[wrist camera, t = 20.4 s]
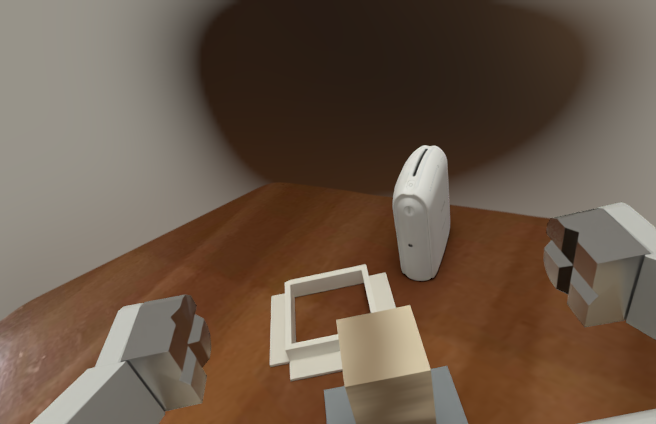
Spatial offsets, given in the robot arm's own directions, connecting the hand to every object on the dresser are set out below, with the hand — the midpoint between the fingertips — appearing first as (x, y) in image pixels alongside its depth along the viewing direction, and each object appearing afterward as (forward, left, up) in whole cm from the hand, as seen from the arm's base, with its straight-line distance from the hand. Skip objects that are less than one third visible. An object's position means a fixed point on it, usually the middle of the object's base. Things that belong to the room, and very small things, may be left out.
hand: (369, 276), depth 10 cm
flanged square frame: (+4, -24, -28) cm, 37 cm away
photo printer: (-8, -31, -28) cm, 43 cm away
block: (0, -10, -27) cm, 29 cm away
